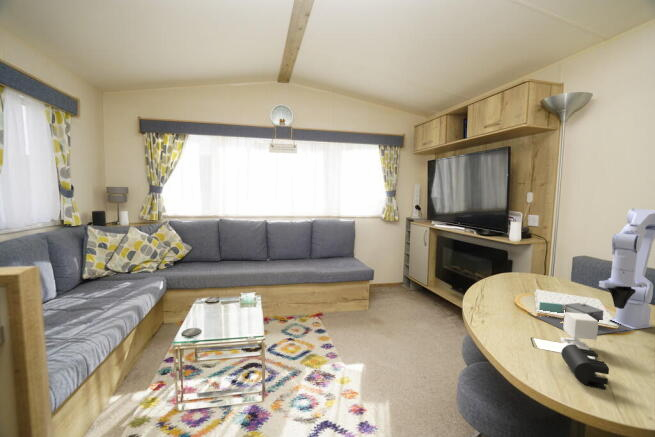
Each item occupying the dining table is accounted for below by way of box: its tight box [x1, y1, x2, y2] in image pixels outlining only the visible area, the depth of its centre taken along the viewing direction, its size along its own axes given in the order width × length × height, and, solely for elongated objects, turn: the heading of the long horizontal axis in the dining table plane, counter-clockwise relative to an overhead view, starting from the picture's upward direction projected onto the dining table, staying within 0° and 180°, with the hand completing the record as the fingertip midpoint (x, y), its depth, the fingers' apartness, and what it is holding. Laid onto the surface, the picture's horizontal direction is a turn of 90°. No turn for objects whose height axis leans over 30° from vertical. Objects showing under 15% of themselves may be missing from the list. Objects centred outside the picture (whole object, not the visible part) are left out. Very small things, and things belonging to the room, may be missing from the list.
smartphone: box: [530, 337, 598, 360], centre depth 97 cm, size 8×1×16 cm
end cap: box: [560, 344, 610, 391], centre depth 82 cm, size 10×7×7 cm
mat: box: [527, 312, 632, 336], centre depth 116 cm, size 24×20×1 cm
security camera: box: [560, 312, 598, 350], centre depth 98 cm, size 6×7×10 cm
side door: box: [538, 301, 565, 313], centre depth 121 cm, size 2×8×5 cm, turn 74°
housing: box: [564, 302, 604, 322], centre depth 116 cm, size 8×9×6 cm
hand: (619, 307), depth 105 cm, fingers closed
